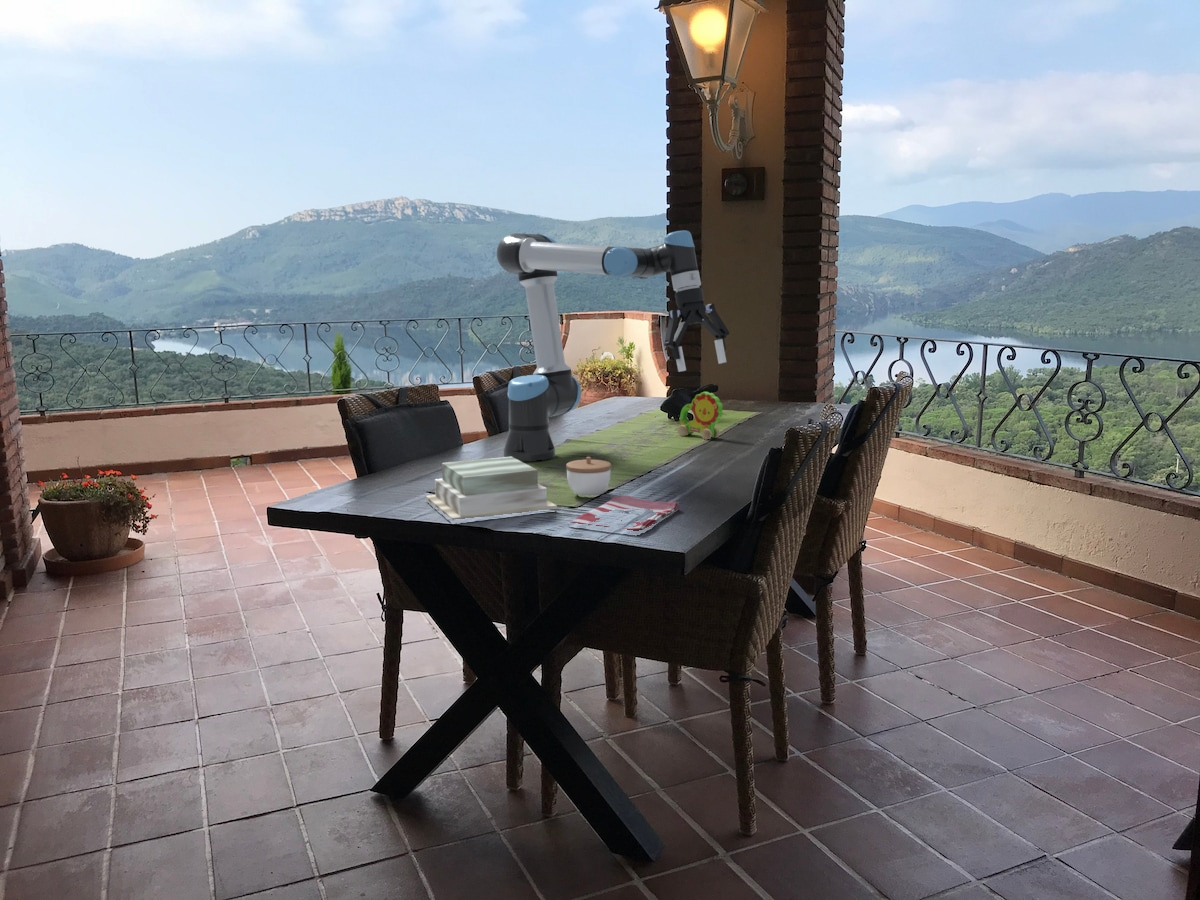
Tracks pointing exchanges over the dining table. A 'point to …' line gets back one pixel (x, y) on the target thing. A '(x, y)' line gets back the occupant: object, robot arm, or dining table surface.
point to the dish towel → (629, 503)
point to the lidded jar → (588, 476)
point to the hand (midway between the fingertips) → (702, 367)
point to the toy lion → (702, 416)
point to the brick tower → (488, 488)
